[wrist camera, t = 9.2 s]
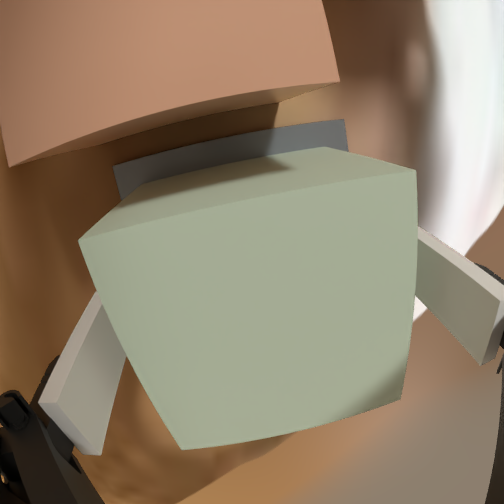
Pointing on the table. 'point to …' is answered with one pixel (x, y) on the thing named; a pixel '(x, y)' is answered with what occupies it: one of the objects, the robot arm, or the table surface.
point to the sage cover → (263, 291)
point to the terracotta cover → (148, 65)
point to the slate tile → (229, 152)
